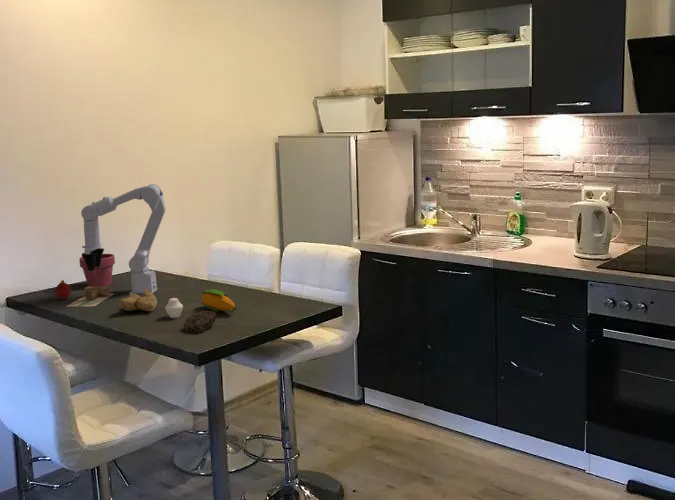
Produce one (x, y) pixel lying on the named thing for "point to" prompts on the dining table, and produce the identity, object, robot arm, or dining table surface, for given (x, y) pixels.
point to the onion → (63, 290)
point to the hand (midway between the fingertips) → (94, 268)
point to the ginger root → (139, 302)
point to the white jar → (174, 308)
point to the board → (83, 301)
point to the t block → (96, 292)
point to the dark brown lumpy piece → (200, 321)
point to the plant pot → (99, 271)
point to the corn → (217, 301)
